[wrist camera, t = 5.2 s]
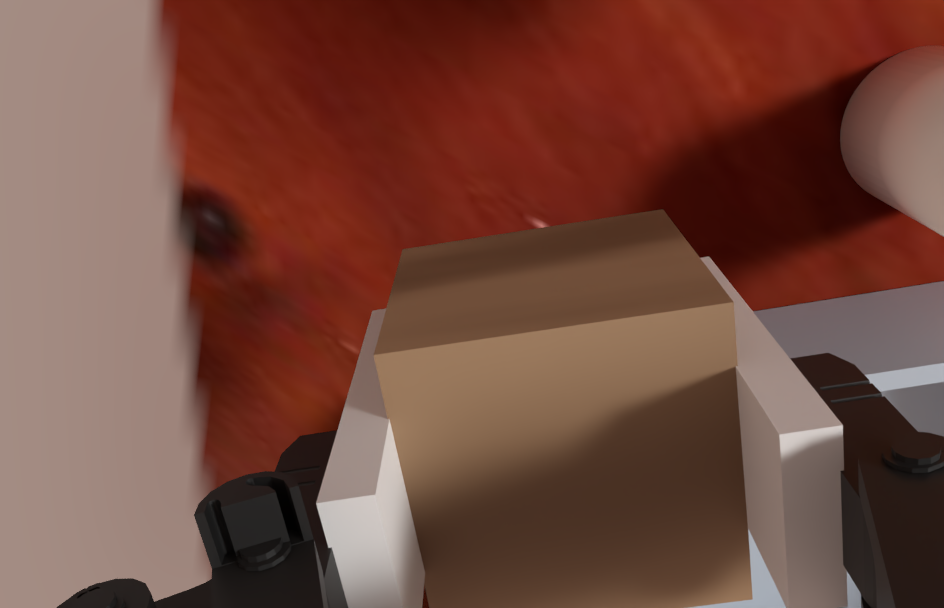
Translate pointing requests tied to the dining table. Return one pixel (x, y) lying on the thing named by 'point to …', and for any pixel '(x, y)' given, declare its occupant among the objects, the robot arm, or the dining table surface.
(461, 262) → the walnut cube
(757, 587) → the tote
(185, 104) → the dining table surface
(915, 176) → the white cylinder
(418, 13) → the dining table surface
